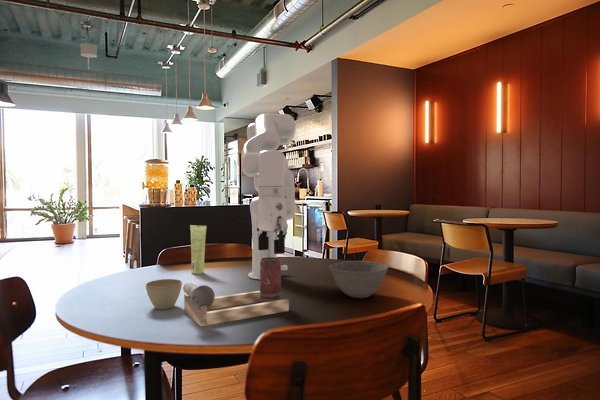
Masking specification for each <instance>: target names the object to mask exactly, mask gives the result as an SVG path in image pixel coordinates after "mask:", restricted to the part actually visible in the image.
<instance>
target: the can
mask: <svg viewBox="0 0 600 400" xmlns="http://www.w3.org/2000/svg"><path fill="white" fill-rule="evenodd" d="M281 266H282V260H281V259H280V258H279V257H277V258H275V257H267V258H262V259H261V261H260V279H259V285H260V286H259V291H260V302H259V303H264V302H271V301H277V300H282V272H281V271H282V270H281Z"/></svg>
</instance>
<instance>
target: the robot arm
mask: <svg viewBox="0 0 600 400" xmlns="http://www.w3.org/2000/svg"><path fill="white" fill-rule="evenodd" d="M295 122H296V121H295V118H293V116H292V115H291V114H288V113H262V114H259V115H258V116H257V117H256V118H255V121H254V122H253V123H250V124H249V125H248V126H247V127H246V137H247V141H246V142H245V143H244V145H243V146H242V147H243V148H242V151H241V170H242V172H243V174H244V175H245V176H246V177H248V178H249V177H251V178H253V187H254V190H255V191H256V192H257V196H255V197H253V198H252V199H251V201H250V203H249V208H250V209H249V211H250V217H251V226H252V228H251V231H252V232H251V233H252V235H251V236H252V237H251V238H252V239H251V242H252V244H251V245H252V247H251V248H252V250H251V251H252V256H251V257H252V260H251V261H252V263H251V264H252V265H251V269H252V270H251V271H250V272H248V278H249V279H253V280H260V261H261V259H262V258H267V257H275V258H278V255H280V254H281V255H282V254H283V255H284V254H285V253H286V250H285V249H286V245H285V244H286V241H285V240H286V239H287V237H286V236H287V234H288V232H287V231H288V229H289V224H288V221H290V220H292V219H293V218H295V215H296V214H295V213H296V195H295V193H296V192H295V191H296V190H295V189H296V188H295V175H294V173H293V172H292V171H291V169H289V160H288V158H287V157H286V156H285V154H284V152H282V151H281V150H277V149H278V148H279V147H280V146H287V145H289V144H291V142H292V141H293V139H294V136H295V135H296V123H295ZM287 270H288V265H287V264H284V265H281V271H287Z"/></svg>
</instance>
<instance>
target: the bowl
mask: <svg viewBox="0 0 600 400" xmlns="http://www.w3.org/2000/svg"><path fill="white" fill-rule="evenodd" d="M328 268H329V269H330V272H331V274H332V276H333V279H334V281H335V283H336V285H337V286H338V288H339V289H340V290H341V292H343V293H344V294H345V295H347V296H348V297H351V298H353V299H365V298H369V297H370V296H372V295H373V294H375V293H376V291H377V290H378V289H379V287H380V286H381V284H382V283H383V281H384V278H385V276H386V275H387V272H388V270H389V266H388V265H387V264H385V263H381V262H377V261H369V260H346V261H339V262H335V263H331V264H330V265H329V267H328Z"/></svg>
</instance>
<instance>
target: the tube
mask: <svg viewBox="0 0 600 400" xmlns="http://www.w3.org/2000/svg"><path fill="white" fill-rule="evenodd" d="M189 230H190V250H191V251H190V252H191V254H190V255H191V257H190V258H191V263H190V265H191V266H190V267H191V274H194V275H200V274H201V275H202V274H203V273H204V272H205V253H206V252H205V251H206V239H207V238H206V236H207V225H195V224H194V225H193V224H190V225H189Z"/></svg>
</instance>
